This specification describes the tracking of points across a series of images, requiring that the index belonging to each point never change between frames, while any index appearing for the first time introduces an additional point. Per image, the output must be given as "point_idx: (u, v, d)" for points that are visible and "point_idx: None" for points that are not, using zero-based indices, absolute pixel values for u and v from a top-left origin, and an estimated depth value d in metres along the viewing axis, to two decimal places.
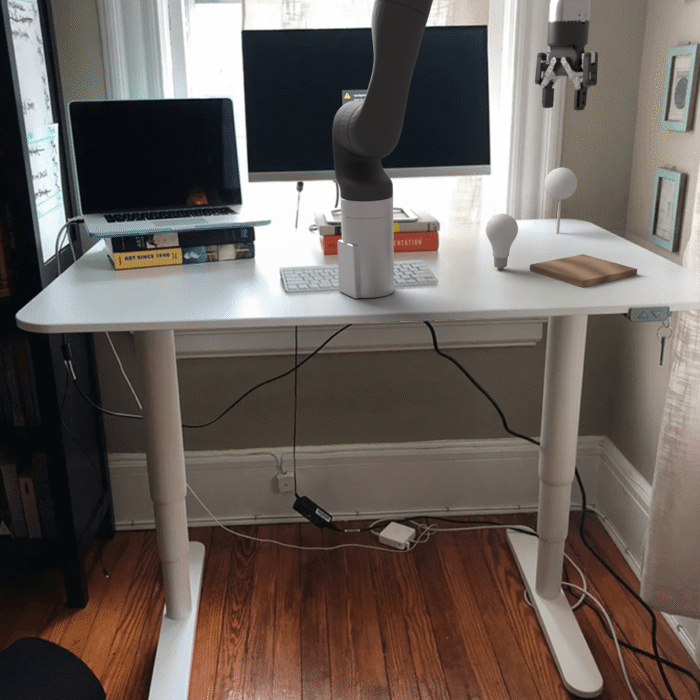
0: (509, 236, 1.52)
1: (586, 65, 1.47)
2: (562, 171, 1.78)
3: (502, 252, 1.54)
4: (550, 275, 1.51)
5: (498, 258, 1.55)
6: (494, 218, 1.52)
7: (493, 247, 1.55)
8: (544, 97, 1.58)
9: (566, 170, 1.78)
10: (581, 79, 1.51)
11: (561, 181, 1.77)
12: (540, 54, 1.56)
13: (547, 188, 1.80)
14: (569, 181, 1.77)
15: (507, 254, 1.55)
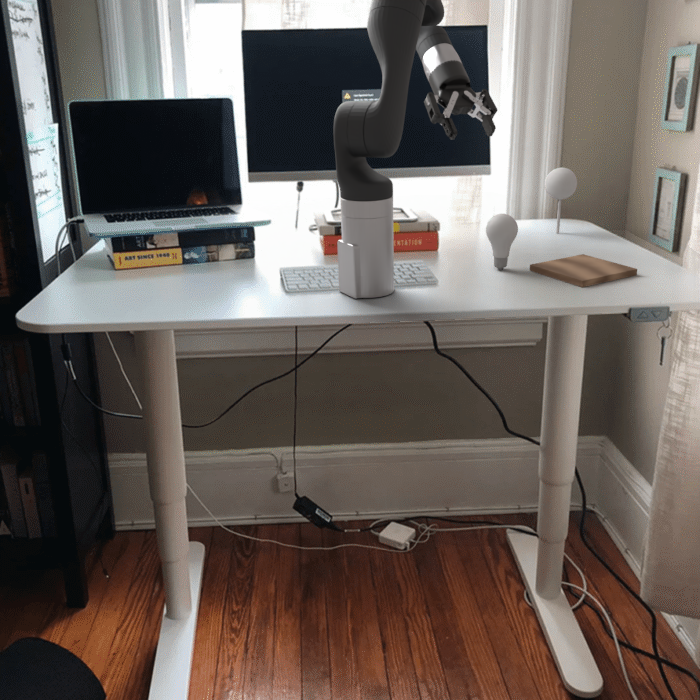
0: (509, 236, 1.52)
1: (489, 97, 1.62)
2: (562, 171, 1.78)
3: (502, 252, 1.54)
4: (550, 275, 1.51)
5: (498, 258, 1.55)
6: (494, 218, 1.52)
7: (493, 247, 1.55)
8: (453, 124, 1.56)
9: (566, 170, 1.78)
10: (477, 114, 1.61)
11: (561, 181, 1.77)
12: (432, 93, 1.58)
13: (547, 188, 1.80)
14: (569, 181, 1.77)
15: (507, 254, 1.55)
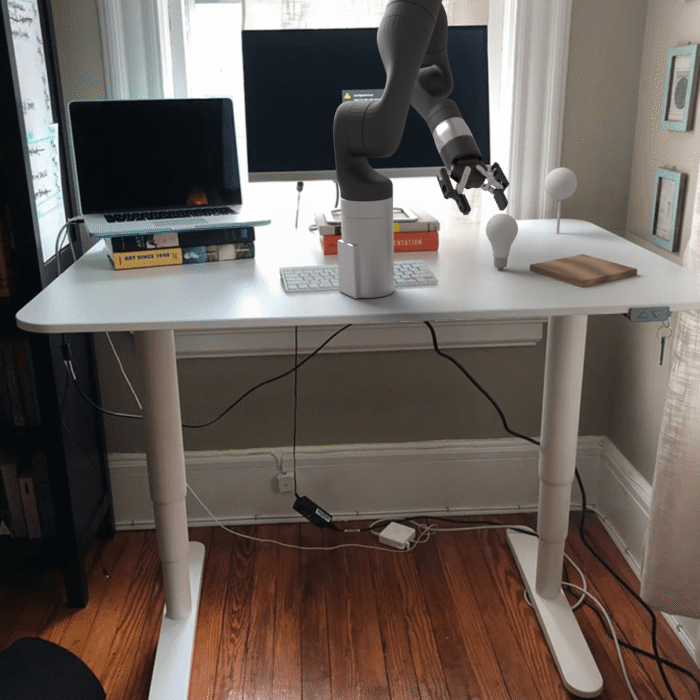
0: (509, 236, 1.52)
1: (500, 171, 1.62)
2: (562, 171, 1.78)
3: (502, 252, 1.54)
4: (550, 275, 1.51)
5: (498, 258, 1.55)
6: (494, 218, 1.52)
7: (493, 247, 1.55)
8: (466, 201, 1.56)
9: (566, 170, 1.78)
10: (489, 188, 1.62)
11: (561, 181, 1.77)
12: (444, 168, 1.58)
13: (547, 188, 1.80)
14: (570, 181, 1.77)
15: (507, 254, 1.55)
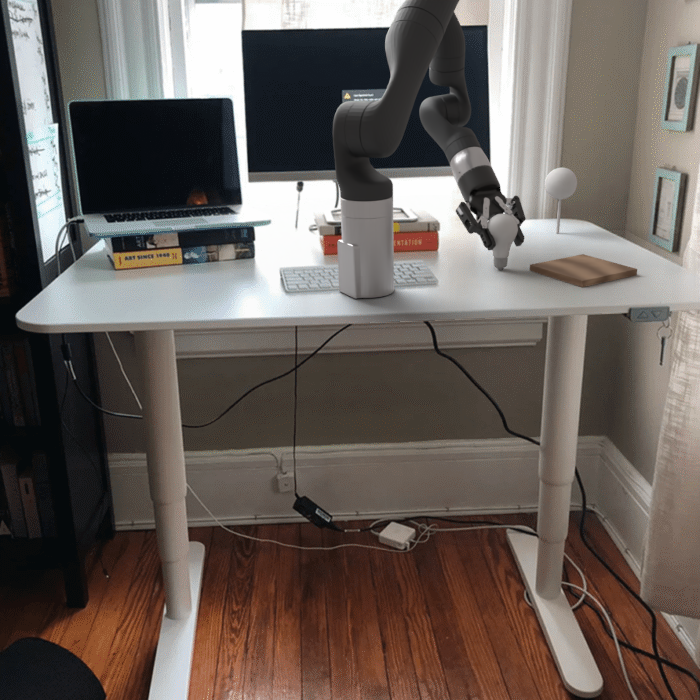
0: (508, 236, 1.52)
1: (519, 205, 1.58)
2: (562, 171, 1.78)
3: (502, 252, 1.54)
4: (550, 275, 1.51)
5: (498, 258, 1.55)
6: (494, 218, 1.52)
7: None
8: (491, 235, 1.52)
9: (566, 170, 1.78)
10: None
11: (561, 181, 1.77)
12: (463, 202, 1.54)
13: (547, 188, 1.80)
14: (570, 181, 1.77)
15: (507, 254, 1.55)
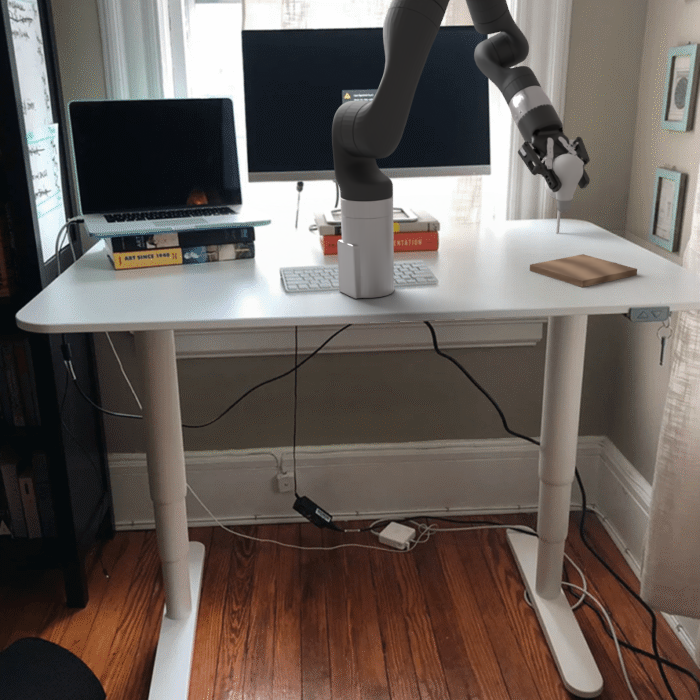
0: (574, 177, 1.46)
1: (582, 146, 1.51)
2: None
3: (566, 194, 1.48)
4: (550, 275, 1.51)
5: (562, 200, 1.49)
6: (559, 158, 1.46)
7: None
8: (556, 176, 1.46)
9: None
10: None
11: None
12: (527, 142, 1.47)
13: (547, 188, 1.80)
14: None
15: (571, 197, 1.48)
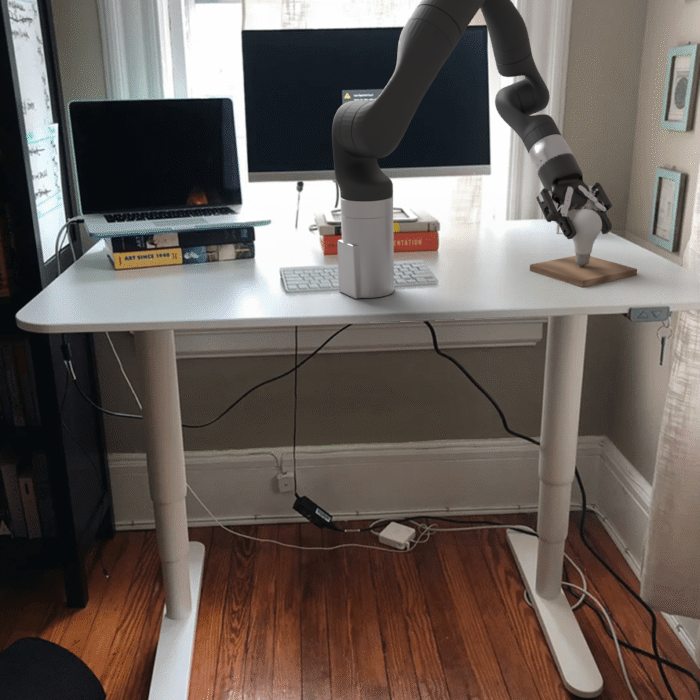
0: (593, 232, 1.47)
1: (602, 192, 1.53)
2: None
3: (585, 249, 1.50)
4: (550, 275, 1.51)
5: (581, 254, 1.51)
6: (578, 214, 1.48)
7: (576, 243, 1.50)
8: (571, 224, 1.47)
9: None
10: None
11: None
12: (546, 189, 1.49)
13: None
14: None
15: (590, 251, 1.50)
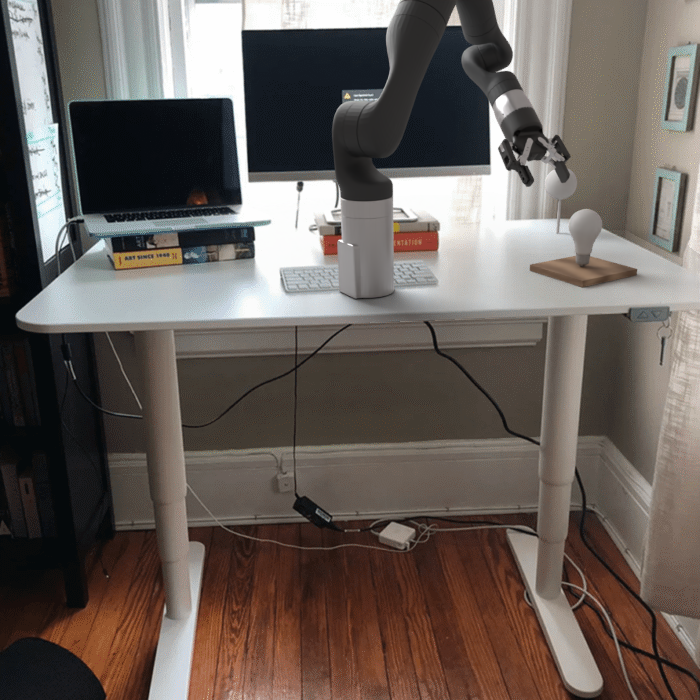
0: (594, 232, 1.47)
1: (561, 143, 1.61)
2: None
3: (585, 248, 1.50)
4: (550, 275, 1.51)
5: (581, 254, 1.51)
6: (578, 213, 1.48)
7: (576, 243, 1.50)
8: (529, 172, 1.55)
9: None
10: (550, 160, 1.61)
11: None
12: (506, 140, 1.57)
13: (547, 188, 1.80)
14: (569, 181, 1.77)
15: (590, 251, 1.50)
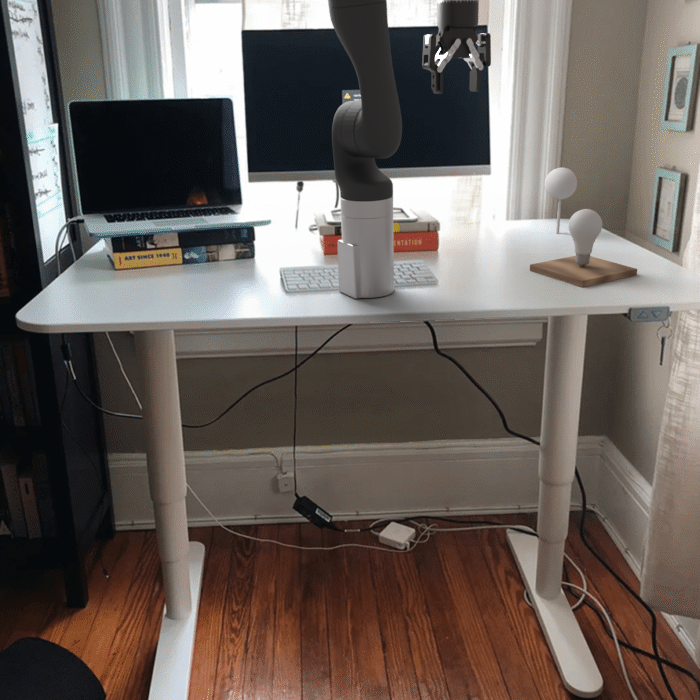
0: (594, 232, 1.47)
1: (488, 46, 1.51)
2: (562, 171, 1.78)
3: (585, 248, 1.50)
4: (550, 275, 1.51)
5: (581, 254, 1.51)
6: (578, 213, 1.48)
7: (576, 243, 1.50)
8: (441, 82, 1.48)
9: (566, 170, 1.78)
10: (470, 61, 1.52)
11: (561, 181, 1.77)
12: (435, 36, 1.44)
13: (547, 188, 1.80)
14: (569, 181, 1.77)
15: (590, 251, 1.50)
